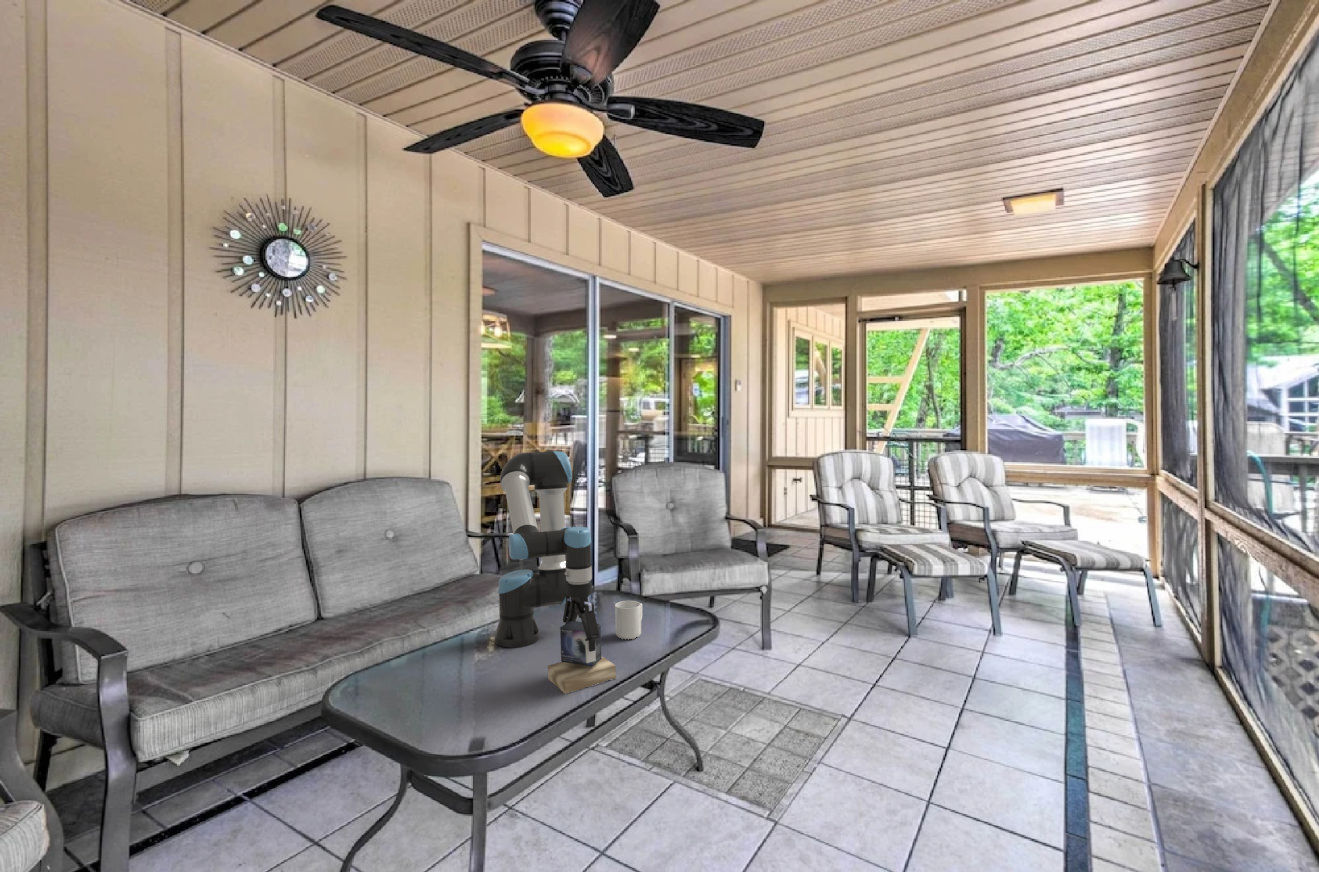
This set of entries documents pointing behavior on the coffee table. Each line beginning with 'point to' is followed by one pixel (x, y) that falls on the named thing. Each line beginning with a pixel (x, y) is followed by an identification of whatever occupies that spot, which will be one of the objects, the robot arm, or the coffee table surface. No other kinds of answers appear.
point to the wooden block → (580, 674)
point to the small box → (577, 644)
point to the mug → (628, 619)
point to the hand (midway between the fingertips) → (581, 654)
